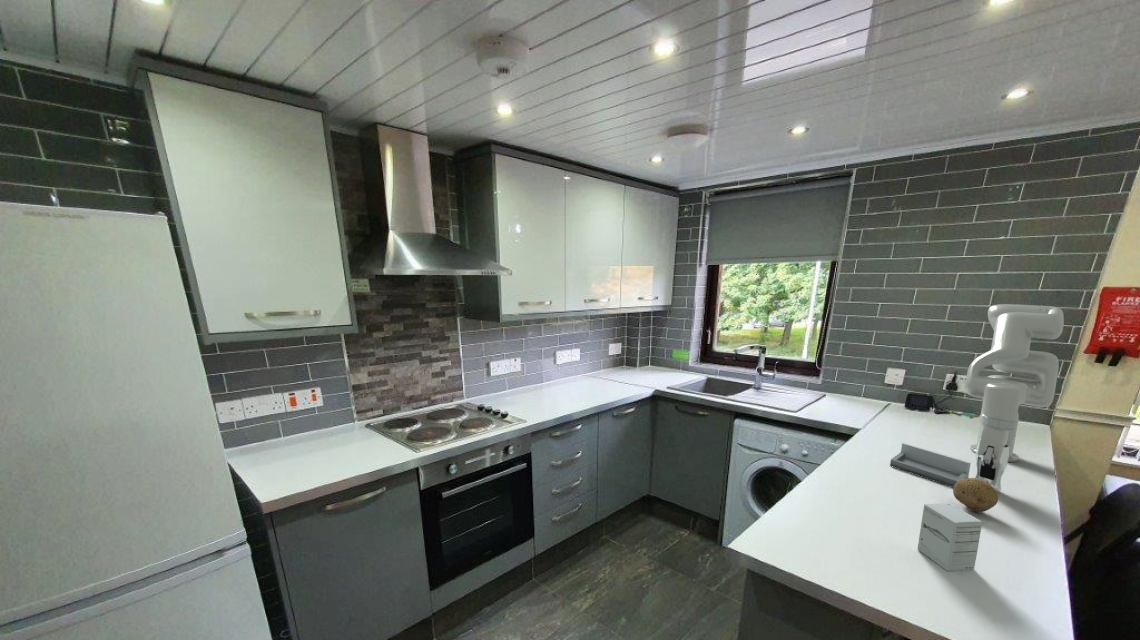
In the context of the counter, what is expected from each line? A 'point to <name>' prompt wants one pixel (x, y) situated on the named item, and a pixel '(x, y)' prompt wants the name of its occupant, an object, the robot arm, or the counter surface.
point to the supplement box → (949, 536)
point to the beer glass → (999, 467)
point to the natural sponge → (975, 494)
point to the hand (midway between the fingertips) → (989, 474)
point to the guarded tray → (931, 465)
